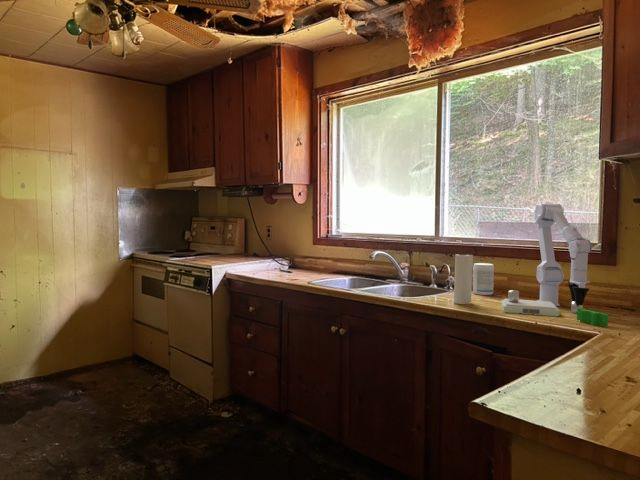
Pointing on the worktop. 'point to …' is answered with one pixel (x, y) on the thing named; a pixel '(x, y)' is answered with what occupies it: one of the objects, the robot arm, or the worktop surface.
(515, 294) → the spacer
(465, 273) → the paper towel roll
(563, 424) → the worktop surface
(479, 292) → the supplement tub
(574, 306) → the spacer
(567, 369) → the worktop surface
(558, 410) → the worktop surface
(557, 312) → the scale
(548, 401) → the worktop surface
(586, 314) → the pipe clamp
